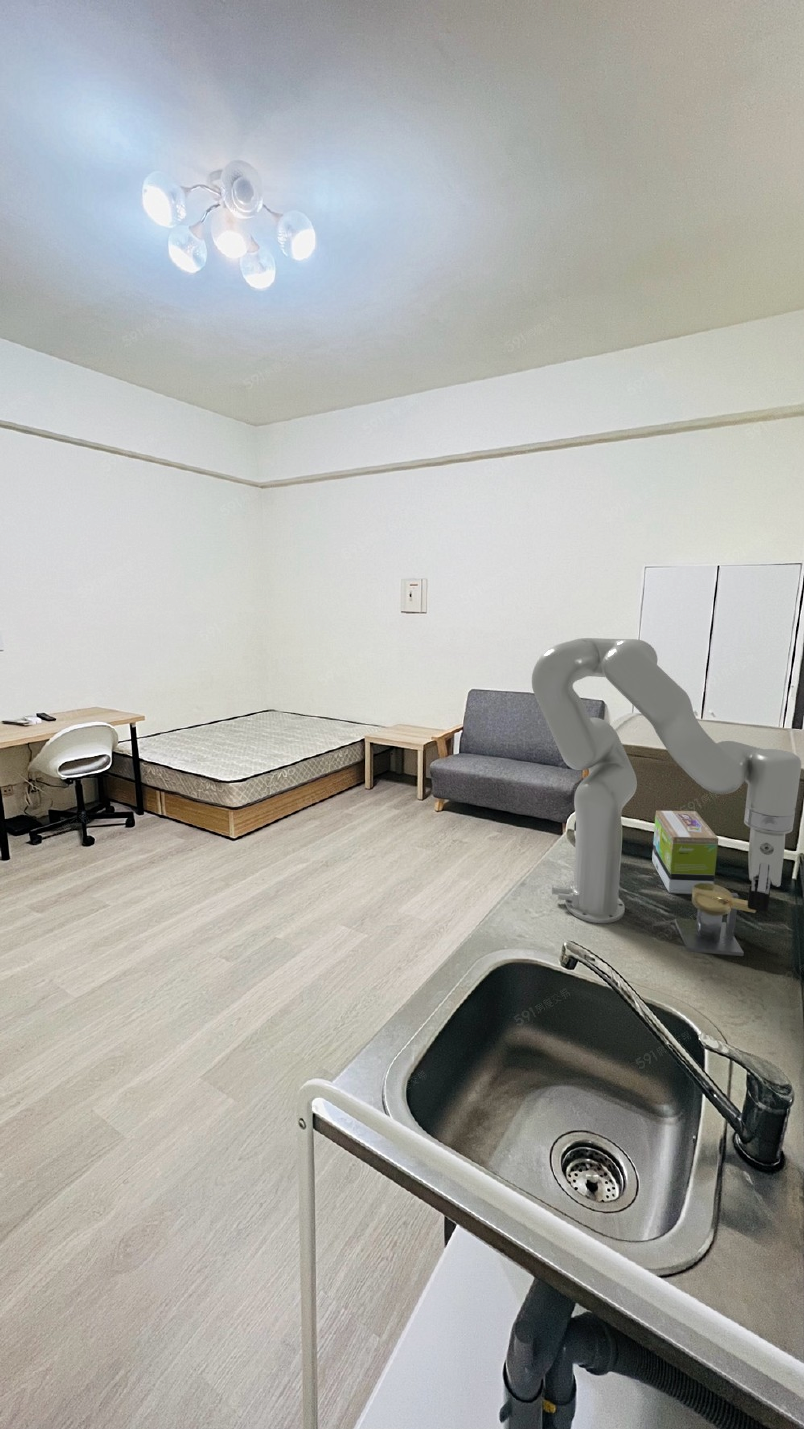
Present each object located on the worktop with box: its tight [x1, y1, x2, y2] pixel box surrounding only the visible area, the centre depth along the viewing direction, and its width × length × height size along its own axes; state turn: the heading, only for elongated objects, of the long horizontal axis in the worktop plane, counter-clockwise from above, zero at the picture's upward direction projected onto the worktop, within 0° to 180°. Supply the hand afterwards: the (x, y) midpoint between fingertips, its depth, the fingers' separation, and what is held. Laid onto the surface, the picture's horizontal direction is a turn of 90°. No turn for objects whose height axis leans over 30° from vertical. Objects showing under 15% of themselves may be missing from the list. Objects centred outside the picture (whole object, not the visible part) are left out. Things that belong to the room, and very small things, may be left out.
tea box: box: [651, 809, 719, 895], centre depth 139 cm, size 15×10×15 cm, turn 172°
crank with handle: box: [691, 883, 757, 916], centre depth 114 cm, size 12×7×7 cm, turn 62°
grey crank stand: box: [674, 892, 745, 957], centre depth 117 cm, size 10×10×9 cm
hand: (757, 908), depth 109 cm, fingers closed
